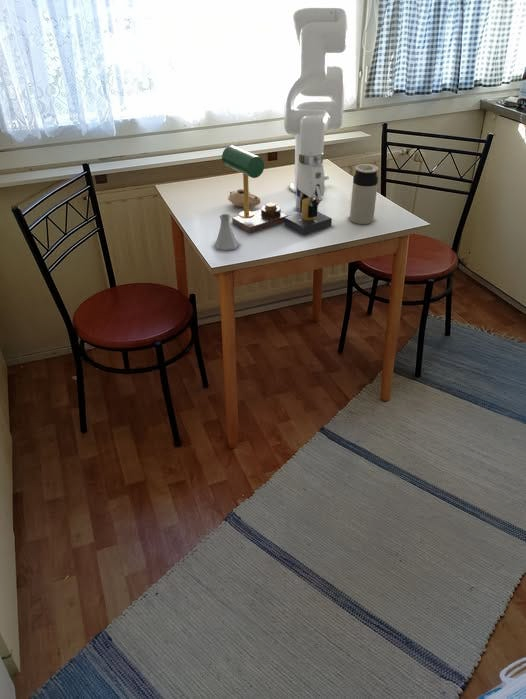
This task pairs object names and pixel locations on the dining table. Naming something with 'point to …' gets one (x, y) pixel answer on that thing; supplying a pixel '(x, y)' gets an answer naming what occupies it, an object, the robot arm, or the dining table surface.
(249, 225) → the lamp base
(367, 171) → the travel mug
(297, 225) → the dimmer
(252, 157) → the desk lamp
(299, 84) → the robot arm
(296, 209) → the energy drink
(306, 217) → the dimmer knob
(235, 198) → the pottery oil lamp
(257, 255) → the dining table surface
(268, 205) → the button
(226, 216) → the flask
